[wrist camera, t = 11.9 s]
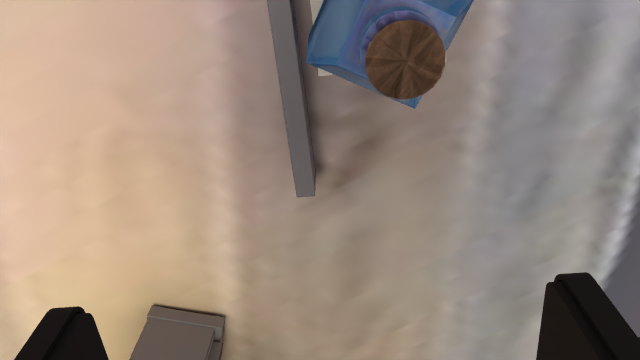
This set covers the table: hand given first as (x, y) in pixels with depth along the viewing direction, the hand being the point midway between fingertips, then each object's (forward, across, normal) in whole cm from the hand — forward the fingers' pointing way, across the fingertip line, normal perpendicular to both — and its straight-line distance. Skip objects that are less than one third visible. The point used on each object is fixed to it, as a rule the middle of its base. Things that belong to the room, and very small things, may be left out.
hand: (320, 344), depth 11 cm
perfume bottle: (+24, -4, -3) cm, 25 cm away
